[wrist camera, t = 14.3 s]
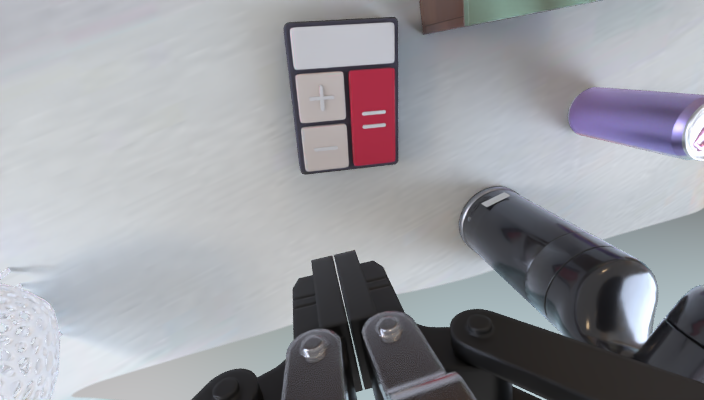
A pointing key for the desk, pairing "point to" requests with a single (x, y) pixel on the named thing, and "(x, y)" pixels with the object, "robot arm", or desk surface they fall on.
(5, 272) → the decorative heart
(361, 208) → the desk surface
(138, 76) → the desk surface
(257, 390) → the robot arm
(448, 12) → the chest
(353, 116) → the calculator
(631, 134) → the beverage can
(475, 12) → the lid
